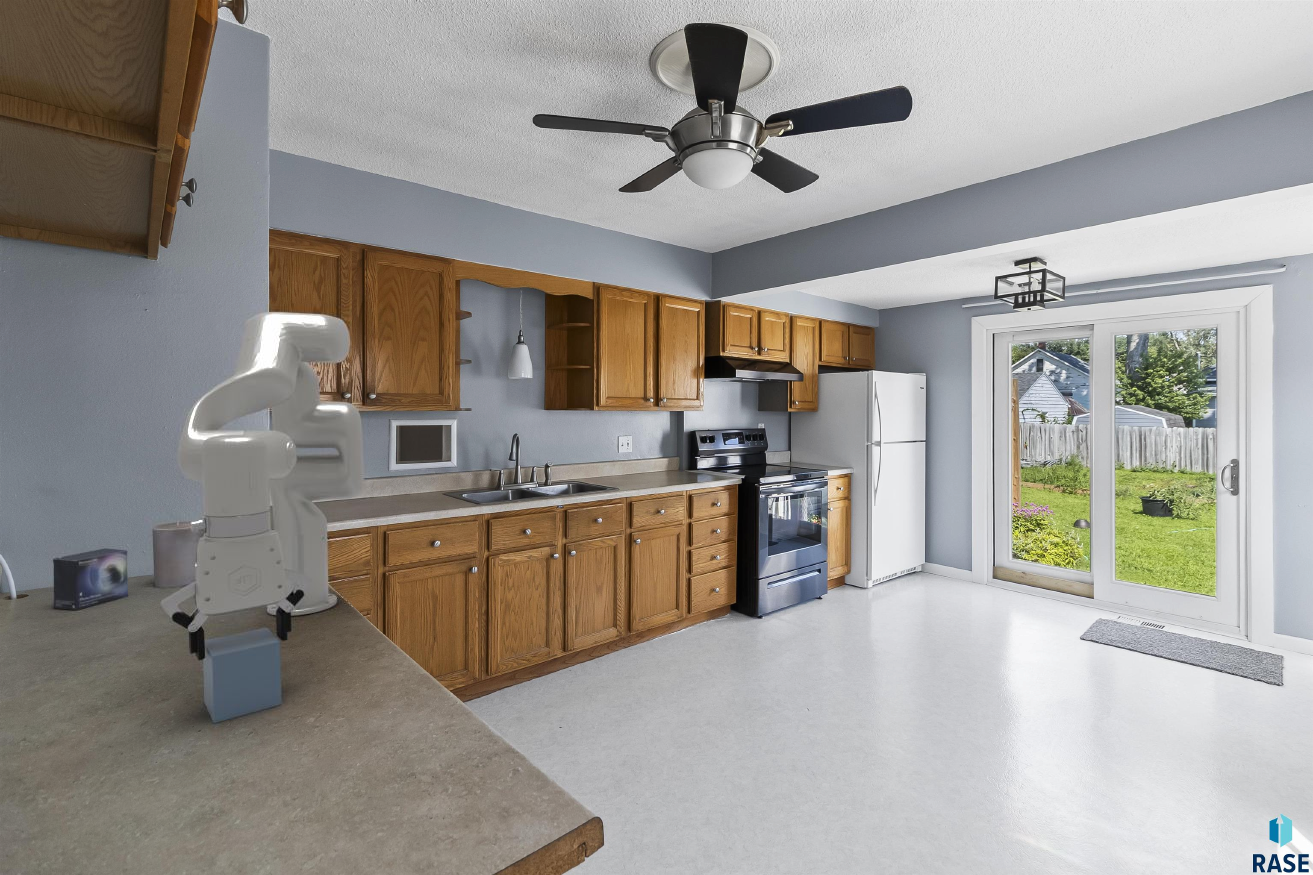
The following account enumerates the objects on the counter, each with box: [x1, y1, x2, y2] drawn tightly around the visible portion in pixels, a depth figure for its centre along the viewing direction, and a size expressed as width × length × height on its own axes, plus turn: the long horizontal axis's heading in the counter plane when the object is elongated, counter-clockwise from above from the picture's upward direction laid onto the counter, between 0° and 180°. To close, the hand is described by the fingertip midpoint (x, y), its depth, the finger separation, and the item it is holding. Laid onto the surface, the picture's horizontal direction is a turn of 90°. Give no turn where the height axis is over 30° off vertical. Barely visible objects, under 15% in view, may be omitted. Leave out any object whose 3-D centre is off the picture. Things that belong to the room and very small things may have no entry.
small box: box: [52, 547, 129, 611], centre depth 133 cm, size 11×6×10 cm, turn 168°
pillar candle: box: [151, 519, 205, 589], centre depth 148 cm, size 10×10×15 cm
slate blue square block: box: [202, 627, 283, 724], centre depth 87 cm, size 8×8×9 cm
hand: (242, 646), depth 87 cm, fingers open, 9 cm apart
